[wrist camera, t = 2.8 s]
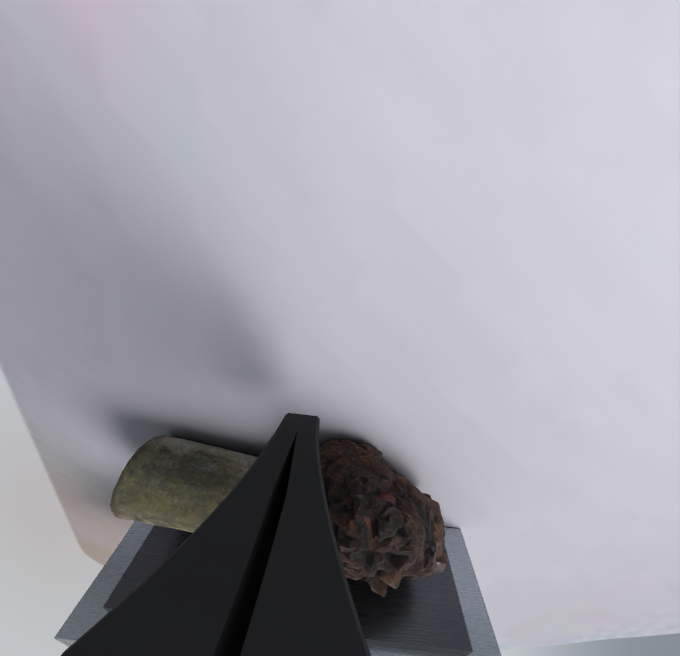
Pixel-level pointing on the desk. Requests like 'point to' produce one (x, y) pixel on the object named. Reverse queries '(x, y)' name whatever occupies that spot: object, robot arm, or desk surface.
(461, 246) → the desk surface
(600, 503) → the desk surface
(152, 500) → the corroded crusty cylinder
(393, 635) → the grey metal tray
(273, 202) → the desk surface
